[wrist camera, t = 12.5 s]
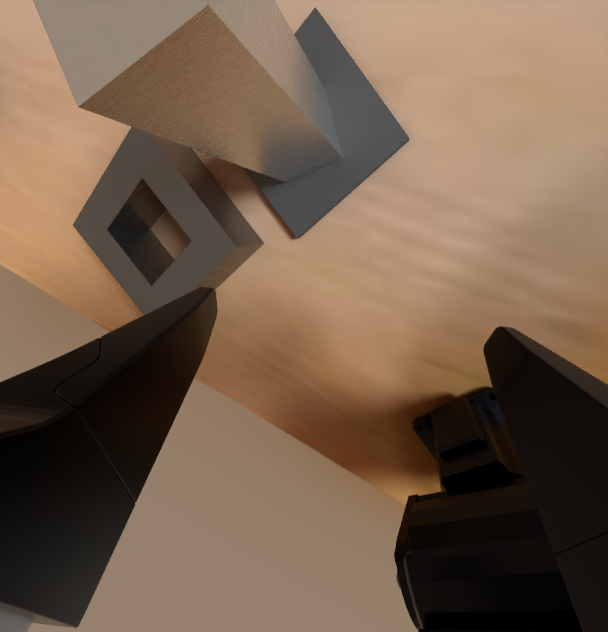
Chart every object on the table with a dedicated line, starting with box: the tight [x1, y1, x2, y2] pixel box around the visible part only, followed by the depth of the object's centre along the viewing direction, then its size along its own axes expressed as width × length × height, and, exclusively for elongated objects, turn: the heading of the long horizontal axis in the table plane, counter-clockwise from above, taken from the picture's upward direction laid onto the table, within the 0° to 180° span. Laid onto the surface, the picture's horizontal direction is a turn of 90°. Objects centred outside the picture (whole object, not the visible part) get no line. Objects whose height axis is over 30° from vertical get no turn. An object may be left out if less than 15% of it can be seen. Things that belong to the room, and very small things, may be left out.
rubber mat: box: [243, 7, 409, 238], centre depth 19 cm, size 9×9×1 cm
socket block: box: [73, 127, 264, 315], centre depth 22 cm, size 10×10×4 cm
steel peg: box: [33, 0, 343, 183], centre depth 12 cm, size 4×4×14 cm
